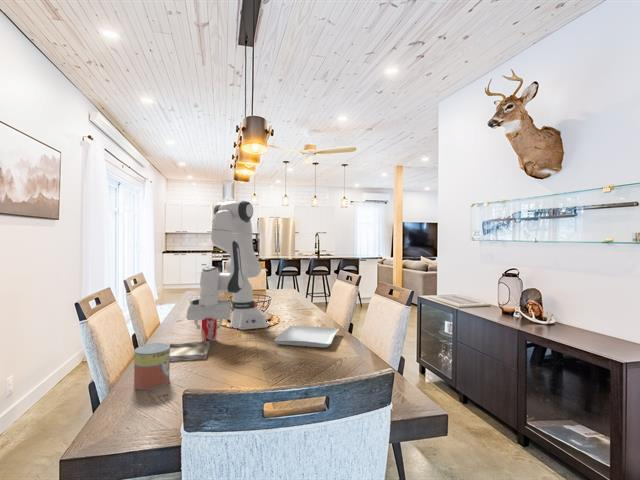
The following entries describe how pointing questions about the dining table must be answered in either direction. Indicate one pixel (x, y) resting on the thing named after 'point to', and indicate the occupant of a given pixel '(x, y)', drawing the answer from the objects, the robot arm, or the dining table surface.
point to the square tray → (188, 351)
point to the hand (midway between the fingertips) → (208, 328)
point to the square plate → (307, 336)
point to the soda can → (209, 329)
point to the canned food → (151, 366)
